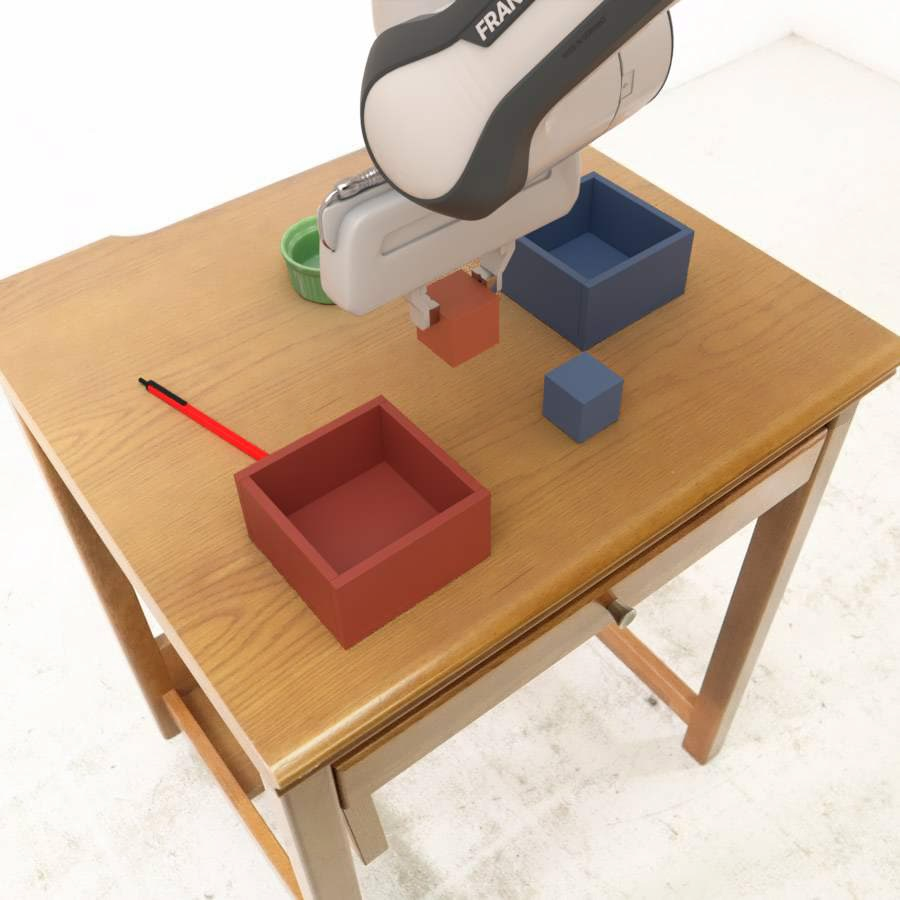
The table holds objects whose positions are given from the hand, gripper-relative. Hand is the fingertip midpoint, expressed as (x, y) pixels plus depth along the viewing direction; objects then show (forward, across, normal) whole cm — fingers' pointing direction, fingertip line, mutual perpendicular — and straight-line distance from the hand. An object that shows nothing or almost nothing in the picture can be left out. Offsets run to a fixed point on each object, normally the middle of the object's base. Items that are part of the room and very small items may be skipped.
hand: (456, 306), depth 77 cm
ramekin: (+12, +3, +22) cm, 25 cm away
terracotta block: (+3, 0, 0) cm, 3 cm away
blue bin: (+12, +20, +6) cm, 24 cm away
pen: (+12, -16, +12) cm, 23 cm away
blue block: (+12, +8, -6) cm, 15 cm away
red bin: (+12, -13, -6) cm, 19 cm away
